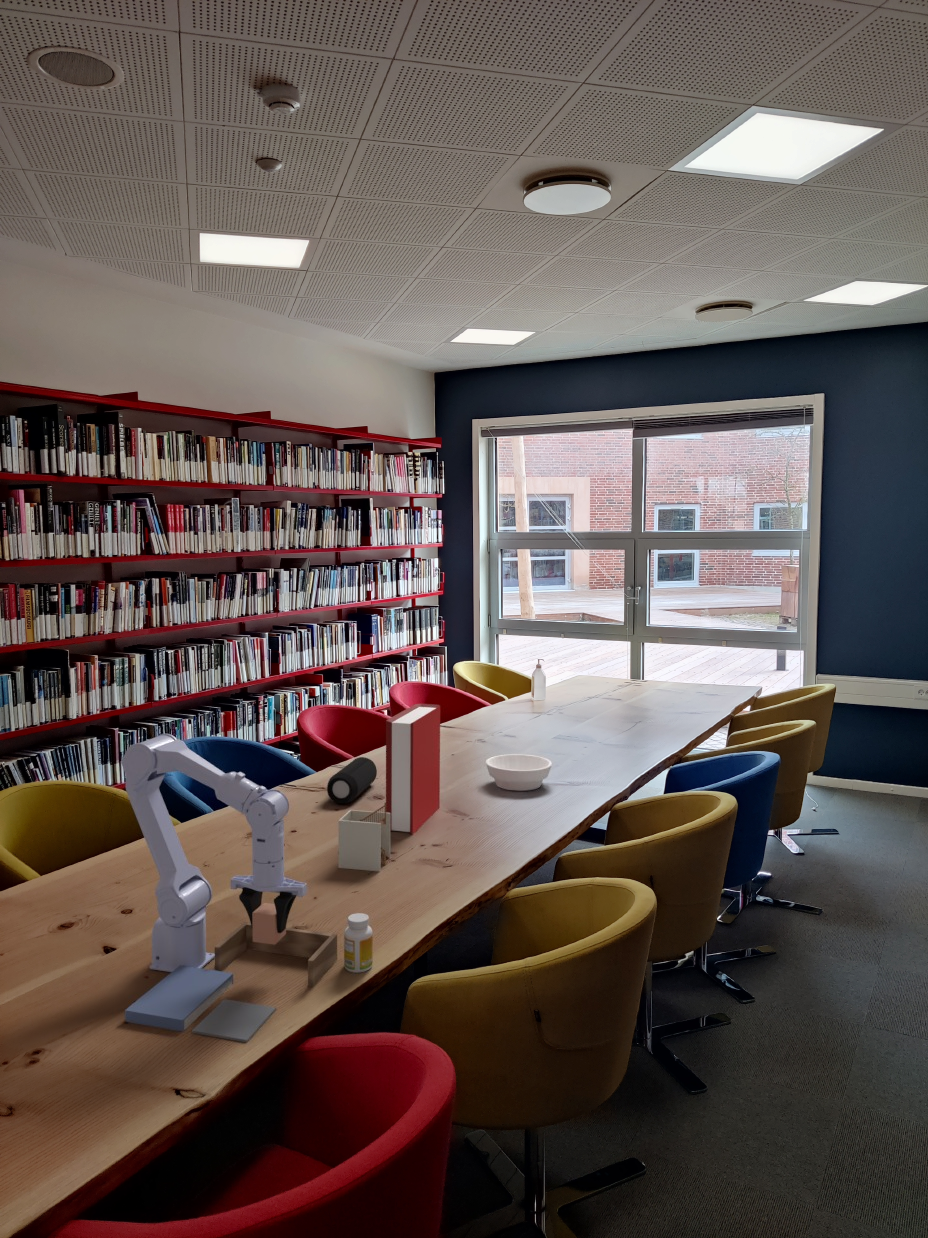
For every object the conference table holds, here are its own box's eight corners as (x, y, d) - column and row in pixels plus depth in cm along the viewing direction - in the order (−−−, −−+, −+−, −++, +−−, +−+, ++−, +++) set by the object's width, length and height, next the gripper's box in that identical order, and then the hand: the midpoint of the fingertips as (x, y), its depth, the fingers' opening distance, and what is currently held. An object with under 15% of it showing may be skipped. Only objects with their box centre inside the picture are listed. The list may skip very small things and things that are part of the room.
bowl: (519, 773, 300) (520, 751, 299) (565, 788, 282) (566, 763, 282) (471, 784, 285) (471, 760, 285) (516, 800, 268) (517, 774, 267)
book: (412, 835, 234) (413, 722, 231) (385, 832, 236) (386, 720, 234) (440, 806, 260) (441, 705, 258) (416, 804, 262) (416, 703, 260)
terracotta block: (252, 941, 154) (252, 912, 154) (264, 931, 158) (263, 903, 158) (275, 944, 153) (274, 915, 153) (286, 934, 157) (285, 905, 157)
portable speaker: (351, 783, 286) (351, 754, 285) (379, 785, 284) (379, 756, 283) (324, 805, 261) (324, 774, 260) (354, 807, 259) (354, 776, 258)
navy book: (183, 1034, 138) (182, 1020, 138) (125, 1024, 141) (125, 1010, 141) (233, 986, 153) (233, 973, 153) (180, 978, 156) (180, 965, 156)
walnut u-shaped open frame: (215, 972, 157) (214, 947, 157) (244, 946, 168) (244, 922, 167) (313, 987, 152) (313, 961, 152) (337, 959, 163) (337, 934, 162)
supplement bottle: (373, 959, 163) (373, 911, 162) (371, 973, 157) (371, 923, 157) (345, 959, 163) (345, 911, 162) (342, 973, 157) (342, 923, 156)
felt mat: (192, 1033, 138) (192, 1030, 138) (224, 1001, 147) (224, 999, 147) (247, 1042, 135) (247, 1040, 135) (276, 1010, 145) (276, 1007, 145)
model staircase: (380, 873, 207) (380, 807, 206) (338, 869, 210) (338, 804, 208) (390, 860, 216) (391, 797, 215) (350, 857, 218) (350, 794, 217)
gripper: (313, 854, 157) (314, 924, 158) (243, 847, 160) (244, 915, 161) (297, 868, 150) (298, 941, 151) (224, 860, 153) (225, 931, 154)
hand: (269, 929), depth 155 cm, fingers closed on terracotta block, 4 cm apart
